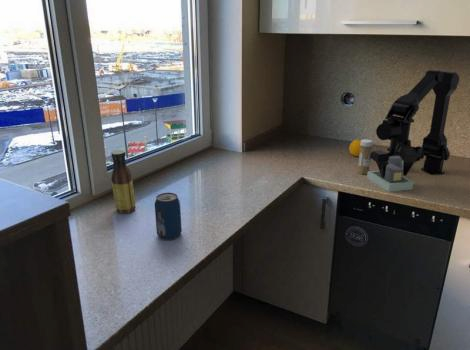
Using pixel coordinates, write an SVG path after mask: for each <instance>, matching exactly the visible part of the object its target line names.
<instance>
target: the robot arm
mask: <svg viewBox="0 0 470 350" xmlns="http://www.w3.org/2000/svg"><path fill="white" fill-rule="evenodd" d="M459 83H460V75H458V73H457V72H456V71H455V72H454V71H444V70H439V69H438V70H435V69H429V70H427V71H425V74H424V75H423V77H422V78H421V79H420V80H419V82H417V84H416V85H414V87H412V89H411V90H410V91H409V92H408V93H406V94H404V95H401V96H399V97H398V98H397V99H396V100H395V101H393V103H392V105H391V107H390V108H389V110H388V111H387V114H386V115H385V117H384V119H383V120H382V123H380V124H378V126H377V127H376V129H375V130H376V131H375V132H376V137H377V138H378V139H379V140H381V141H386V140H387V141H388V140H389V147H387V149H386V151H387V152H386V151H384V150H382V149H377V150H371V154H370V158H371V160H372V161H374V162H375V163H376V165H377V168H378V170H379V171H380V174H381V177H382V178H384V177H385V172H386V166H387V165H388V164H389V162H387V161H388V160H389V158H393V157H401V158H402V160H403V161H404V162H403V174H402V176H404V177H407V176H408V174H409V171H410V170H411V168H412V167H413V166H414V164H415V163H417V162H420V161H421V159H424V156H425V160H424V161H423V167H421V168H420V170H421V171H423V172H425V173H427V174H429V175H440V174H441V175H442V174H445V173H446V172H445V171H443V167H444V163H445V161H448V160H449V158H450V155H451V153H450V150H449V148H448V139H447V137H446V134H445V128H446V123H447V117H448V110H449V105H450V99H451V97H452V94H453V93H454V92H455V91H456V90H457V88H458V85H459ZM431 91H433V93H434V95H435V98H434V104H433V110H432V111H433V112H432V116H431V123H430V130H429V133H428V134H427V135H426V136H424V137H423V138H422V144H421V145H420V146H412V145H411V143H412V141H411V139H409V138H410V137H409V136H410V131H411V124H412V123H415V119H414V116H415V115H416V114H417V112H418V111H419V110H420V103H421V102H422V100H424V99H425V97H426V96H427V95H429V93H430V92H431Z"/></svg>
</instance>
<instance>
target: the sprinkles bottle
mask: <svg viewBox="0 0 470 350" xmlns="http://www.w3.org/2000/svg"><path fill="white" fill-rule="evenodd" d="M360 140H361V144H360V145H361V148H360V155H359V156H358V164H357V165H358V166H357V167H358V168H357V173H358V174H359V175H367V173H368V171H370V166H371V160H372V159H371V158H370V154H371V152H372V151H373V150H372V148H373V144H374V143H373V142H374V141H373V140H372V139H365V138H364V139H360Z"/></svg>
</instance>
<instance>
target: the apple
mask: <svg viewBox="0 0 470 350" xmlns="http://www.w3.org/2000/svg"><path fill="white" fill-rule="evenodd" d="M361 140H362V139H355V140H353V141H352V142H350V145H349V148H348V149H349V152H350V154H351V155H352V156H354V157H359V155H360V148H361V145H360V144H361Z"/></svg>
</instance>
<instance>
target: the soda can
mask: <svg viewBox="0 0 470 350" xmlns="http://www.w3.org/2000/svg"><path fill="white" fill-rule="evenodd" d="M154 212H155V213H154V215H155V227H156V234H157V236H158V237H159V238H160V239H161V240H162V241H174V240H176V239H178V238H179V237H180V235H181V234H182V217H181V216H182V214H181V213H182V212H181V200H180V199H179V197H178V195H177V194H176V193H174V192H163V193H160V194H158V195H157V196H156V197H155V202H154Z"/></svg>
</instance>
